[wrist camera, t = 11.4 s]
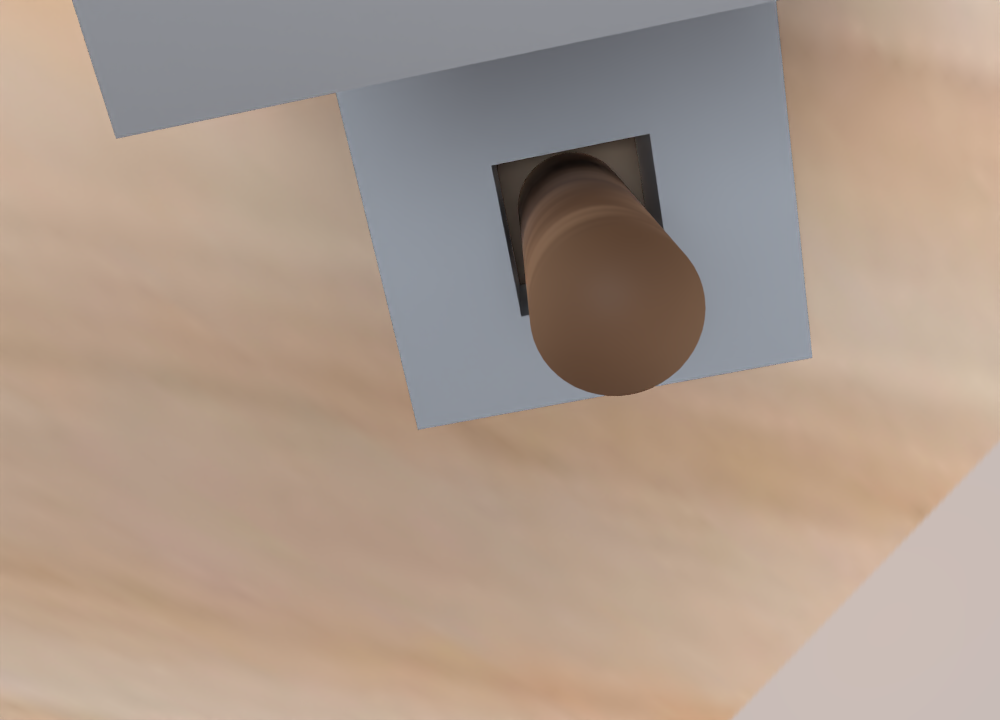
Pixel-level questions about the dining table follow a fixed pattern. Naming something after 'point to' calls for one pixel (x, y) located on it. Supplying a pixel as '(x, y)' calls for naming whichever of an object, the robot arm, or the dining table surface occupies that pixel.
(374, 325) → the dining table surface
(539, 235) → the peg
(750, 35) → the socket station
